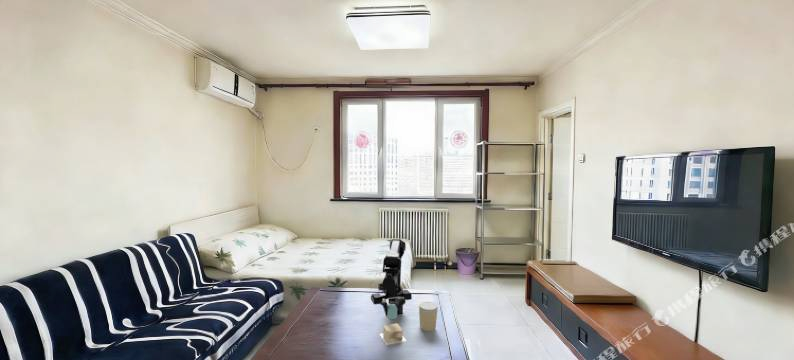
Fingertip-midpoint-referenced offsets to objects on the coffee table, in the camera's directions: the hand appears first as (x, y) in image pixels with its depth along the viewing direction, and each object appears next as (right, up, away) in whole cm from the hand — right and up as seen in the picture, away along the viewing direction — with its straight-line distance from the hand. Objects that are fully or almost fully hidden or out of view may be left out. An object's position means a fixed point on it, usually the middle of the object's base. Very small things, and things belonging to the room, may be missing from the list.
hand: (391, 314), depth 150 cm
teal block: (0, -1, 0) cm, 1 cm away
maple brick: (+1, -11, -1) cm, 10 cm away
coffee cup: (+18, -11, +10) cm, 24 cm away
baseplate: (+1, -12, -1) cm, 11 cm away
